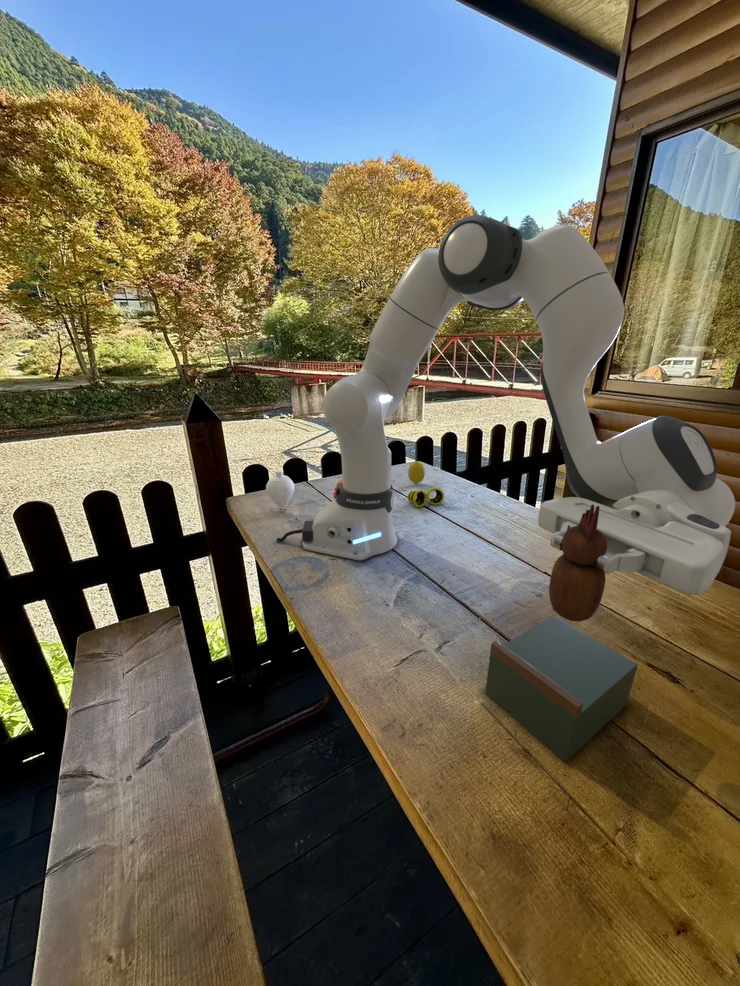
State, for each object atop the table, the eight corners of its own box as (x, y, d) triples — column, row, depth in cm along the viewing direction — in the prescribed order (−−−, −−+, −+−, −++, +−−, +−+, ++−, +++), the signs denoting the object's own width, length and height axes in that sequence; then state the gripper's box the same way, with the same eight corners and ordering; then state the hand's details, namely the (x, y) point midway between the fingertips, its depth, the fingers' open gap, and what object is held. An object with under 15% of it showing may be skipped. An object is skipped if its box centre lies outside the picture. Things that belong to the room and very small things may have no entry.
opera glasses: (436, 501, 123) (436, 485, 123) (444, 504, 118) (444, 487, 118) (406, 505, 121) (406, 488, 120) (414, 508, 116) (413, 491, 115)
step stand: (484, 692, 57) (491, 643, 54) (546, 651, 64) (554, 605, 61) (565, 762, 47) (578, 707, 44) (626, 705, 55) (641, 654, 51)
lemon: (423, 487, 132) (424, 464, 129) (406, 486, 133) (407, 463, 130) (425, 481, 137) (426, 459, 134) (408, 481, 138) (409, 458, 135)
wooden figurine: (594, 635, 47) (621, 516, 41) (541, 619, 50) (559, 505, 44) (599, 604, 52) (624, 494, 47) (551, 590, 55) (568, 486, 49)
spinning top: (276, 519, 110) (272, 477, 106) (264, 510, 116) (259, 470, 111) (301, 512, 115) (298, 471, 110) (288, 504, 120) (284, 465, 116)
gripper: (578, 481, 61) (512, 499, 55) (749, 535, 44) (681, 570, 38) (571, 519, 63) (506, 541, 57) (731, 585, 46) (664, 625, 40)
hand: (578, 553), depth 47 cm, fingers closed on wooden figurine, 4 cm apart
